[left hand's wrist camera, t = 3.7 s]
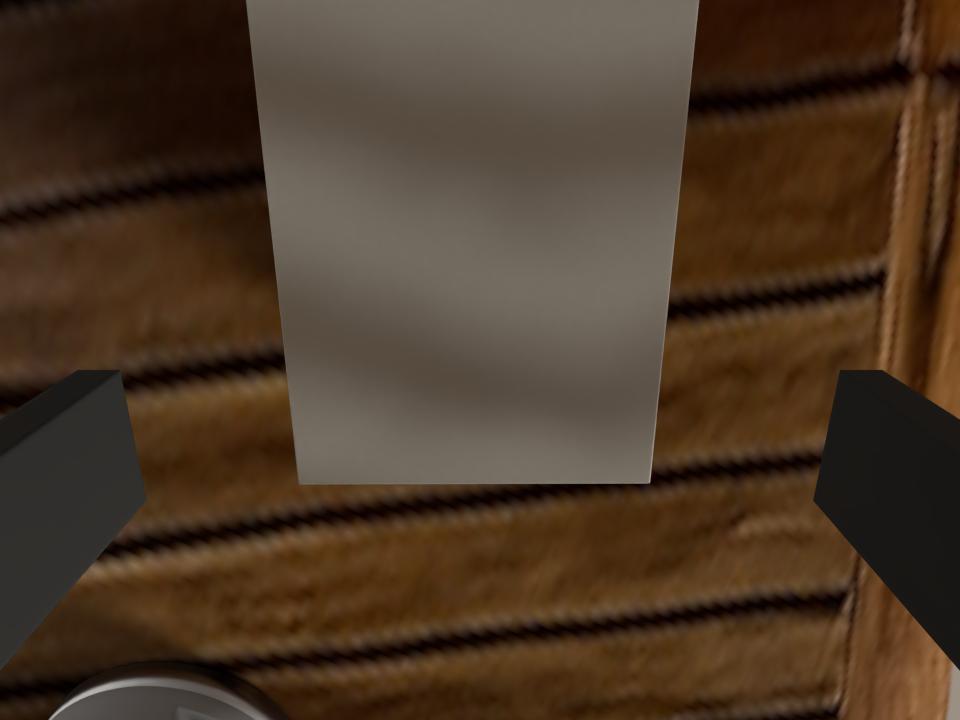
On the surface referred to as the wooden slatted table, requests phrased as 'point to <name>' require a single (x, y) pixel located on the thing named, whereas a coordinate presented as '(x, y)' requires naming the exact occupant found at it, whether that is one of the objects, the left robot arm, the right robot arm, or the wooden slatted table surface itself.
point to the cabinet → (473, 231)
